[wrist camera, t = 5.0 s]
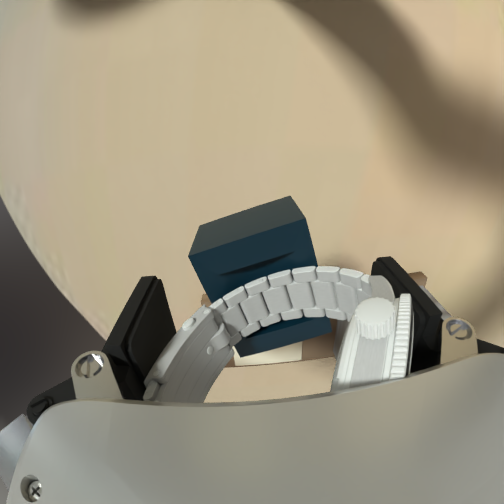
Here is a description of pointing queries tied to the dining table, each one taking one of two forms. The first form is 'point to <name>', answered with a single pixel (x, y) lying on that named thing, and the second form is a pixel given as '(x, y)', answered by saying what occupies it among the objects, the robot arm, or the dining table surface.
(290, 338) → the watch
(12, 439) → the robot arm
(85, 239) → the dining table surface
